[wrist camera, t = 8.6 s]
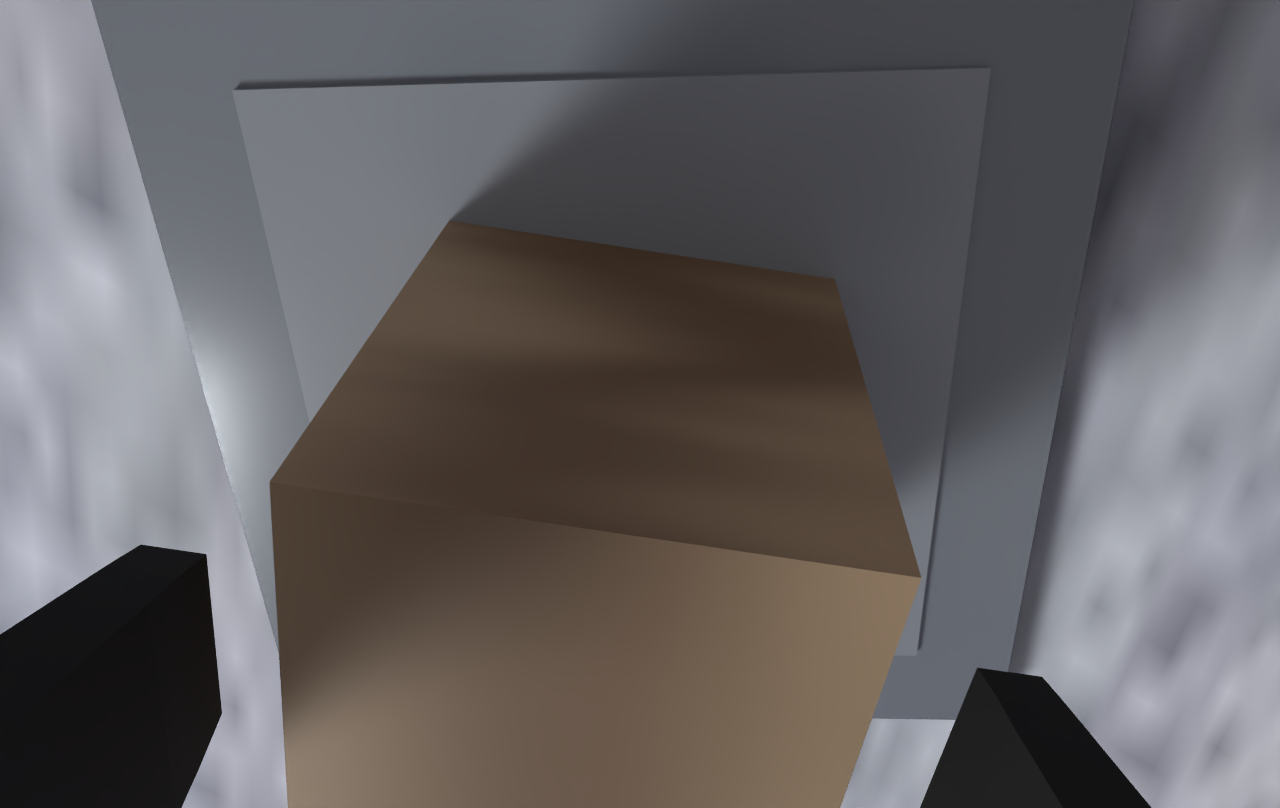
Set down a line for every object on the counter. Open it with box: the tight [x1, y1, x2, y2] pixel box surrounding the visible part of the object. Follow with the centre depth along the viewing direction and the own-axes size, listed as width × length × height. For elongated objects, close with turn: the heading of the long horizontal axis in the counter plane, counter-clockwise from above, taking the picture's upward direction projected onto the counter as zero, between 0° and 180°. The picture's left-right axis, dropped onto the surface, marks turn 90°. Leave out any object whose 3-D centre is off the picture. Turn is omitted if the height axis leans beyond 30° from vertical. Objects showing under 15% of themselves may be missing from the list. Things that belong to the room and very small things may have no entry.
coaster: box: [91, 0, 1134, 720], centre depth 14 cm, size 12×12×1 cm
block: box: [269, 221, 921, 808], centre depth 11 cm, size 5×5×6 cm
